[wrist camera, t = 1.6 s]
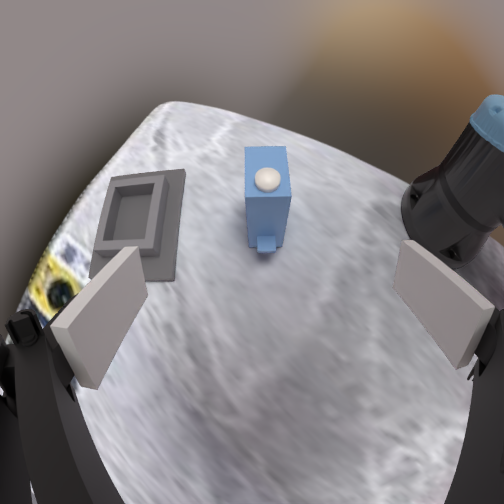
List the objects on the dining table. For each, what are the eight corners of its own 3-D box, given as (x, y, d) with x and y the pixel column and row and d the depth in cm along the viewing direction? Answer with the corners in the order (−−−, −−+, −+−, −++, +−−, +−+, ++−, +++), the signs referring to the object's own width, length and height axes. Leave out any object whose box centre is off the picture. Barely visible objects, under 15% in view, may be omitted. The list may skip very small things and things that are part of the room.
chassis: (113, 180, 39) (104, 167, 35) (185, 173, 38) (180, 157, 35) (92, 279, 33) (78, 271, 29) (174, 280, 32) (165, 271, 29)
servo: (248, 193, 37) (244, 129, 26) (278, 193, 37) (284, 128, 26) (249, 261, 33) (244, 210, 22) (282, 260, 33) (294, 209, 22)
